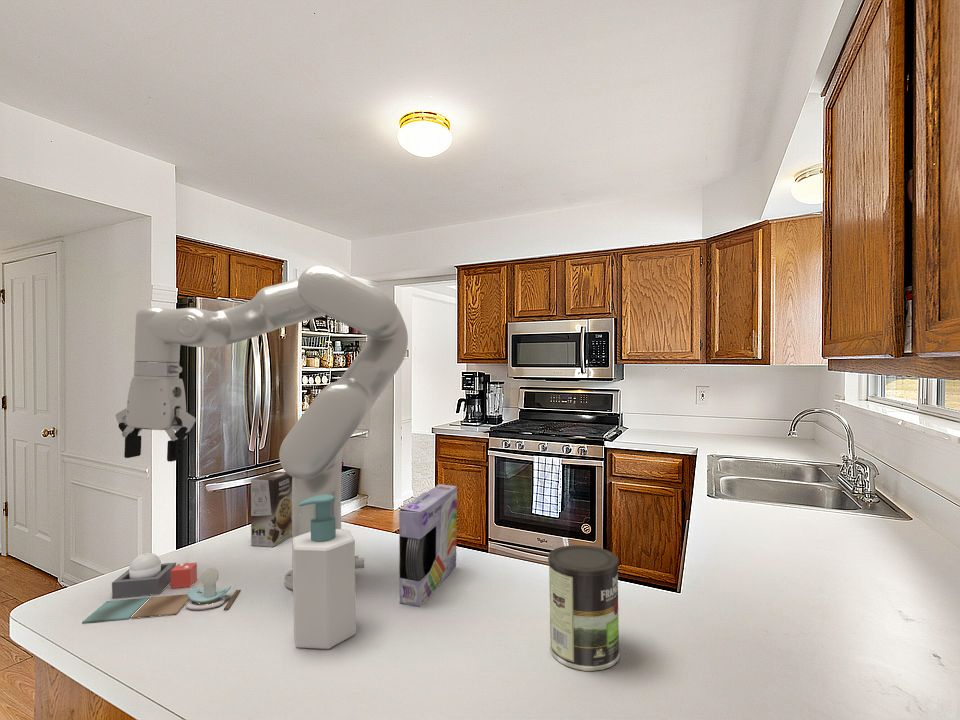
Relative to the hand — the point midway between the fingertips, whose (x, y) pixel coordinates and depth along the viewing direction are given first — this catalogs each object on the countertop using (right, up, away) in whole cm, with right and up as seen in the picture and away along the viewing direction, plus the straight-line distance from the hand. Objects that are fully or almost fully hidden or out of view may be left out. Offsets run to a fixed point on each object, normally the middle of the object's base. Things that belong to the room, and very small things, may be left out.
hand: (153, 458), depth 100 cm
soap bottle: (+39, -25, -18) cm, 49 cm away
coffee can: (+80, -24, -23) cm, 87 cm away
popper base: (0, -25, +1) cm, 25 cm away
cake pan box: (+54, -25, -1) cm, 60 cm away
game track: (+7, -25, -8) cm, 27 cm away
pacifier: (+14, -26, -6) cm, 30 cm away
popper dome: (-2, -24, +1) cm, 24 cm away
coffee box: (+13, -26, +27) cm, 39 cm away
